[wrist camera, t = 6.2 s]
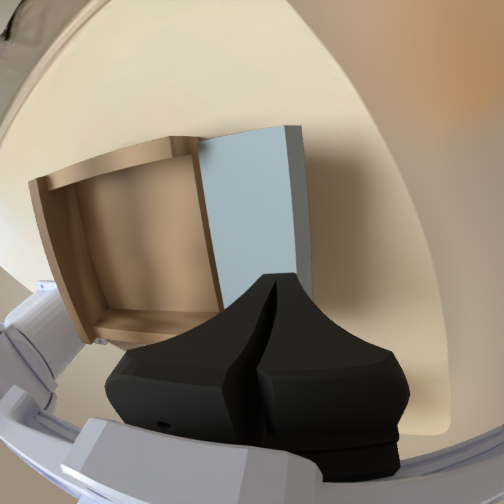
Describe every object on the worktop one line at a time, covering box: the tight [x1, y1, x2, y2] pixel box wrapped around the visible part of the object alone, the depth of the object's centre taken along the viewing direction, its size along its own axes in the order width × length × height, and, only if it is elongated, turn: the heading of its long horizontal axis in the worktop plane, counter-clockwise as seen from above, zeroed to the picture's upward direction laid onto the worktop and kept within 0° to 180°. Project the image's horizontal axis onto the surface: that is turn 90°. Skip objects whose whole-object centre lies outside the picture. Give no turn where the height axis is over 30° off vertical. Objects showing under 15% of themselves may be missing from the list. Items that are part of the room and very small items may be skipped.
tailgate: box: [197, 126, 312, 309], centre depth 16 cm, size 2×13×7 cm
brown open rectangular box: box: [28, 136, 225, 345], centre depth 19 cm, size 12×14×6 cm
